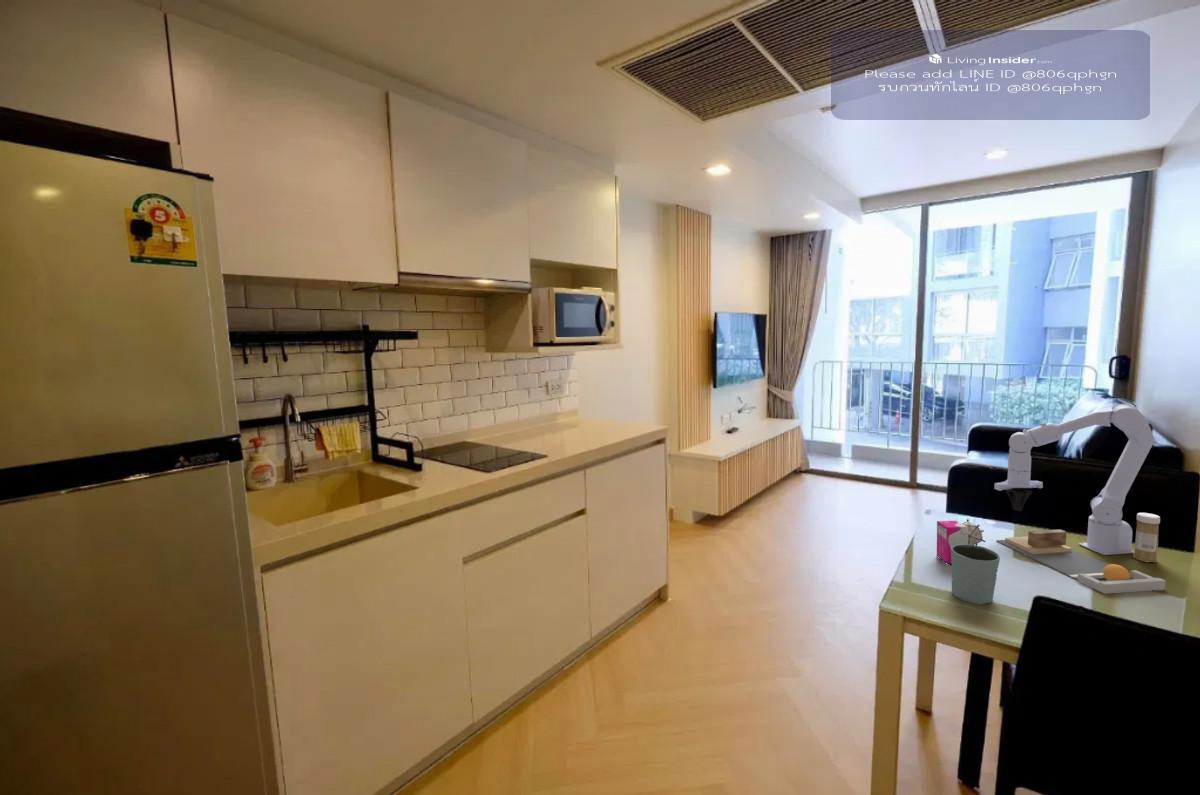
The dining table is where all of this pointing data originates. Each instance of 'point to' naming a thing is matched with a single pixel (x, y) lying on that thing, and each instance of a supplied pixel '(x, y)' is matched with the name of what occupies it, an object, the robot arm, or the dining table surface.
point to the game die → (973, 533)
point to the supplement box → (949, 538)
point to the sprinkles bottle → (1147, 537)
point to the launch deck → (1083, 567)
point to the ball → (1115, 573)
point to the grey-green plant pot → (973, 572)
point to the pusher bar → (1047, 538)
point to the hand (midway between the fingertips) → (1017, 510)
